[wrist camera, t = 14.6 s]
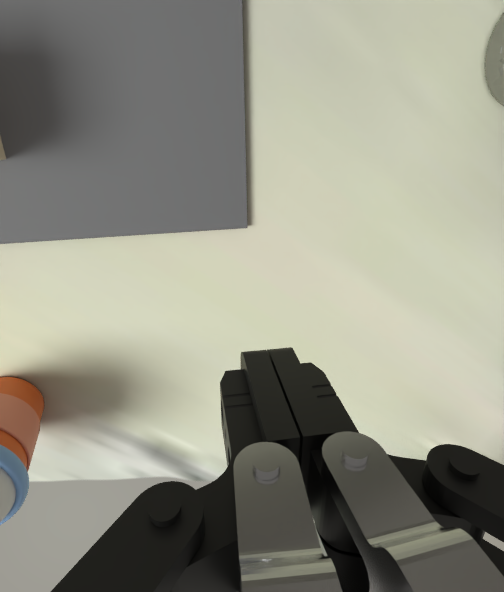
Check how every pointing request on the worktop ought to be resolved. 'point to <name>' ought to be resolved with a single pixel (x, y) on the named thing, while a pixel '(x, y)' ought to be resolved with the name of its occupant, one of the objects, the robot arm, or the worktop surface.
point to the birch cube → (2, 151)
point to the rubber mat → (121, 118)
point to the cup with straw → (17, 440)
